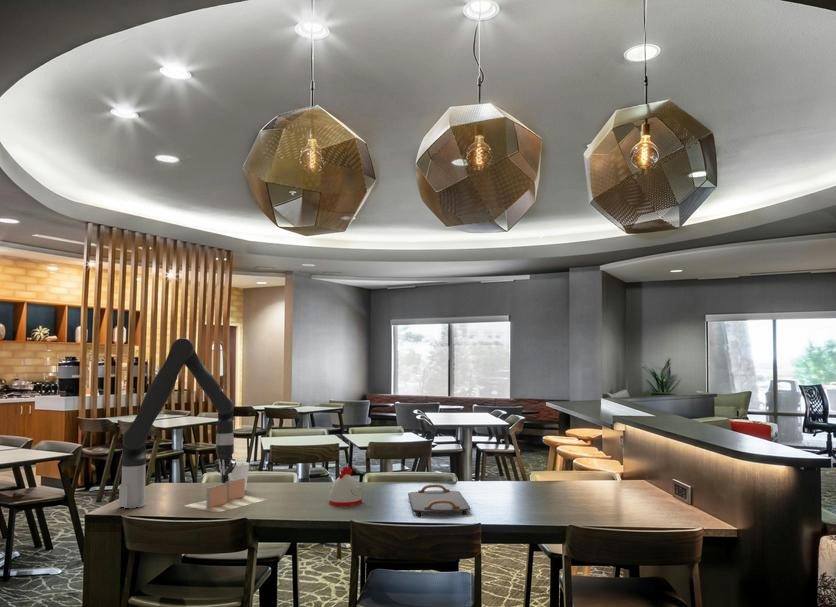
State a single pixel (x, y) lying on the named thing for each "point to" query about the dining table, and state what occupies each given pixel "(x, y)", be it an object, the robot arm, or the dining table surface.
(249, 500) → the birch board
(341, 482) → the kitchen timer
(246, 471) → the foam cup
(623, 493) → the dining table surface
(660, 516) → the dining table surface
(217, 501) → the near tile
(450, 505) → the serving board
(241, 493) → the far tile
